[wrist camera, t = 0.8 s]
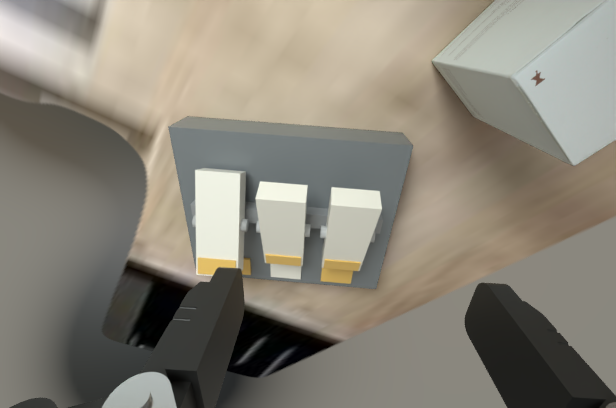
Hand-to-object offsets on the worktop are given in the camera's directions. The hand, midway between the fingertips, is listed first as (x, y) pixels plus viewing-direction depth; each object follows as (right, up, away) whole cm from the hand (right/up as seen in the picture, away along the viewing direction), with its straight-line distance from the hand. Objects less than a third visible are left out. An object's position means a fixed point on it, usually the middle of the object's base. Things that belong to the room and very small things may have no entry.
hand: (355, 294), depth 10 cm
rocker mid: (-4, +1, +17) cm, 17 cm away
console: (-4, +3, +23) cm, 24 cm away
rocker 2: (+2, 0, +17) cm, 17 cm away
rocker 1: (-10, +1, +18) cm, 20 cm away
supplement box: (+14, +16, +15) cm, 26 cm away
